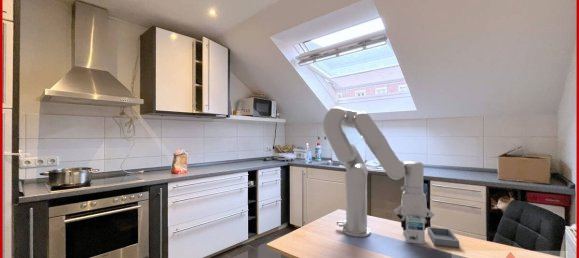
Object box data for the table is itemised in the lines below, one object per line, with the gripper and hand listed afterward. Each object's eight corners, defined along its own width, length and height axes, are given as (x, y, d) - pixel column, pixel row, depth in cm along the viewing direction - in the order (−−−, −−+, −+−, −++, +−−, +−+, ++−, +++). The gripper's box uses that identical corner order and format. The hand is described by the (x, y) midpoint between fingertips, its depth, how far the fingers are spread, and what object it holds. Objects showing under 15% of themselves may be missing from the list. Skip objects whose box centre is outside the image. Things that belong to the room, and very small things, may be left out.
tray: (434, 245, 109) (434, 238, 109) (427, 233, 122) (427, 226, 122) (459, 248, 107) (459, 241, 107) (449, 235, 119) (449, 228, 119)
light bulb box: (425, 244, 110) (425, 218, 110) (407, 243, 112) (408, 217, 111) (418, 234, 121) (418, 210, 121) (402, 232, 122) (402, 209, 122)
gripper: (393, 190, 115) (392, 231, 115) (438, 193, 110) (437, 235, 110) (391, 186, 122) (391, 224, 122) (433, 189, 117) (433, 229, 117)
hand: (413, 229), depth 116 cm, fingers closed on light bulb box, 7 cm apart
